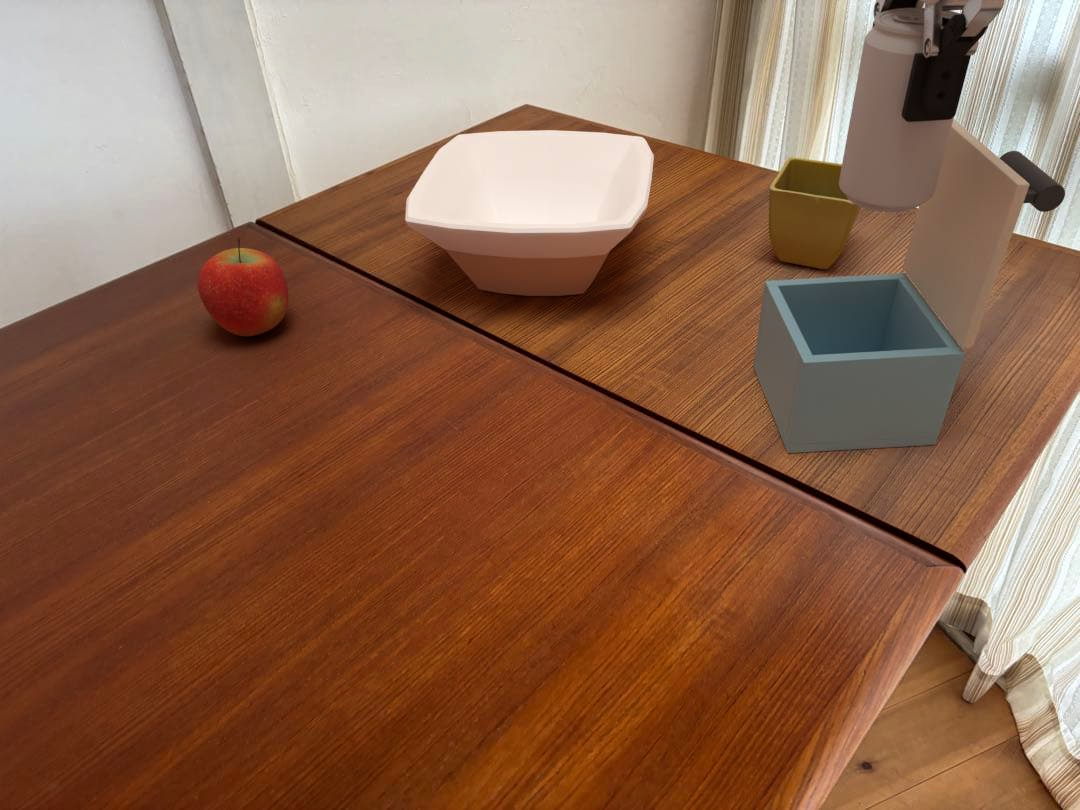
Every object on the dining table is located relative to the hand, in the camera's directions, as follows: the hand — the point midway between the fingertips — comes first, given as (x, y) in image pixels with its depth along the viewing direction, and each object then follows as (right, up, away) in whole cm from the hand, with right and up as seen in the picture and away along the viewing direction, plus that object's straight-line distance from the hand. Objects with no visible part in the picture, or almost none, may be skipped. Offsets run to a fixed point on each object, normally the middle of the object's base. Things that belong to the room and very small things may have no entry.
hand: (906, 97), depth 56 cm
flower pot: (+5, -4, +36) cm, 36 cm away
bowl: (-24, -5, +37) cm, 44 cm away
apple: (-53, -13, +29) cm, 62 cm away
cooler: (+1, -20, +16) cm, 26 cm away
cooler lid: (+6, -8, +6) cm, 12 cm away
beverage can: (0, -6, +4) cm, 7 cm away
